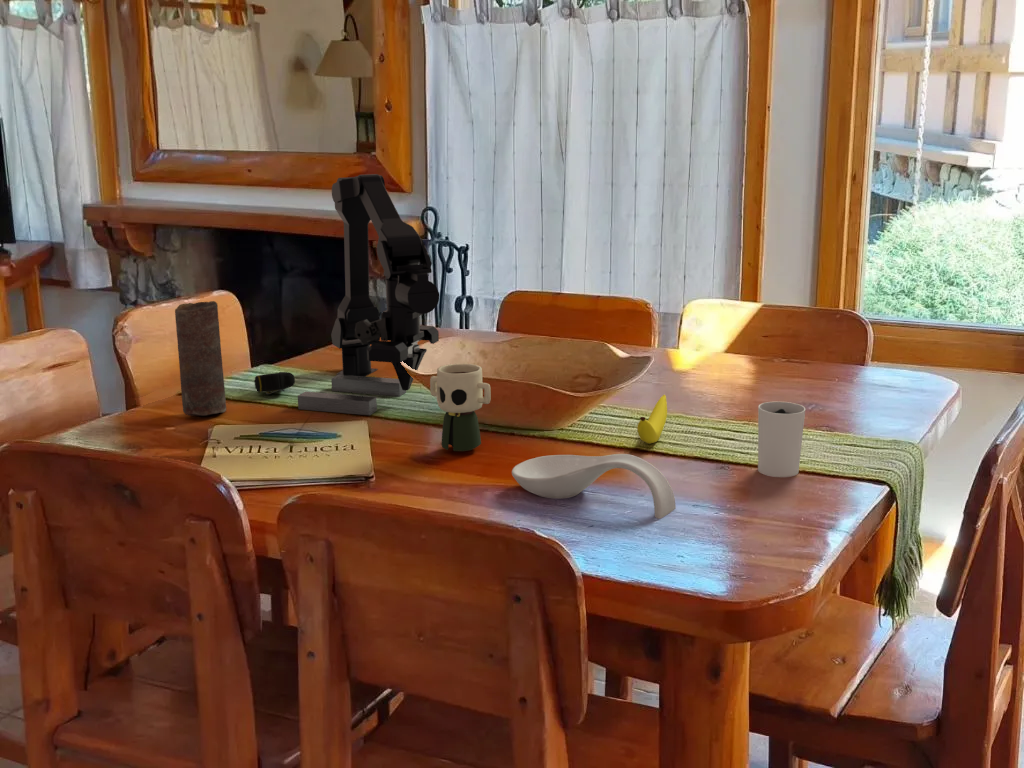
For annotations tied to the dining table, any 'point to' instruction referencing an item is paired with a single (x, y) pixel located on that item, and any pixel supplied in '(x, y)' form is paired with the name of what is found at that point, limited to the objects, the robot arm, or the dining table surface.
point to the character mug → (460, 403)
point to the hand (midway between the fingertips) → (405, 389)
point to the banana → (653, 422)
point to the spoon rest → (589, 476)
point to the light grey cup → (780, 438)
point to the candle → (200, 358)
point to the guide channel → (351, 402)
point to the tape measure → (274, 382)
